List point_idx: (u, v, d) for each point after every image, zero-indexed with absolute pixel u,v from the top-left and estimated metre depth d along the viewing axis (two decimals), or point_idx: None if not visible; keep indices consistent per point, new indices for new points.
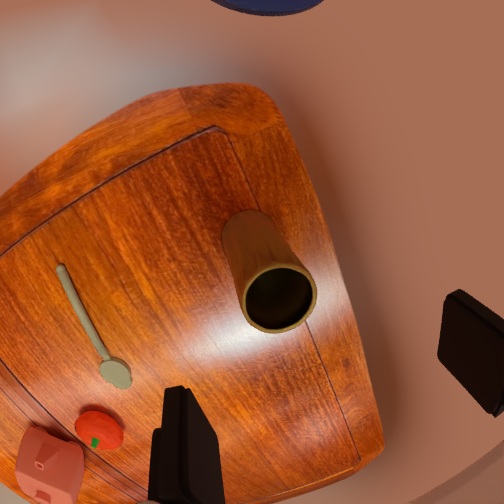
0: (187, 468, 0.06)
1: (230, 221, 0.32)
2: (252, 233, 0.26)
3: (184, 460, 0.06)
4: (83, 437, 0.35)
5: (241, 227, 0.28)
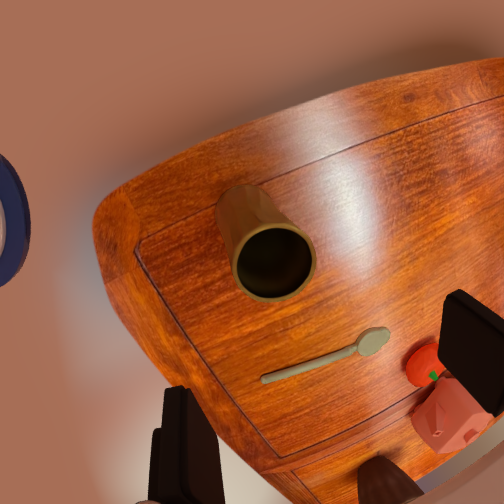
0: (187, 468, 0.06)
1: None
2: None
3: (184, 460, 0.06)
4: (426, 383, 0.40)
5: None
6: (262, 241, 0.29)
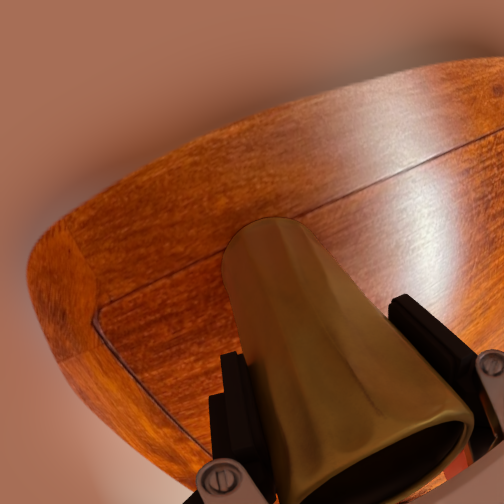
0: (256, 422, 0.07)
1: None
2: None
3: (251, 415, 0.07)
4: None
5: None
6: None
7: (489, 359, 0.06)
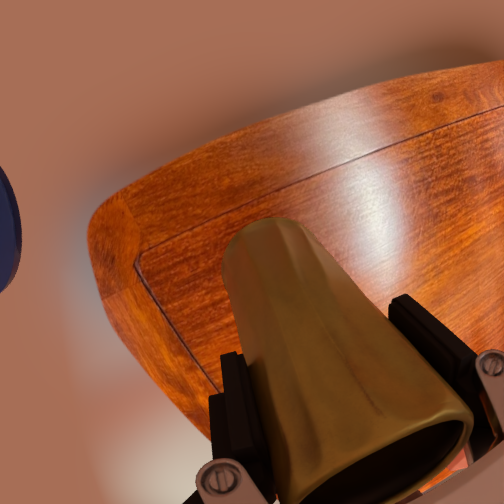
0: (256, 422, 0.07)
1: None
2: None
3: (251, 415, 0.07)
4: None
5: None
6: None
7: (489, 359, 0.06)
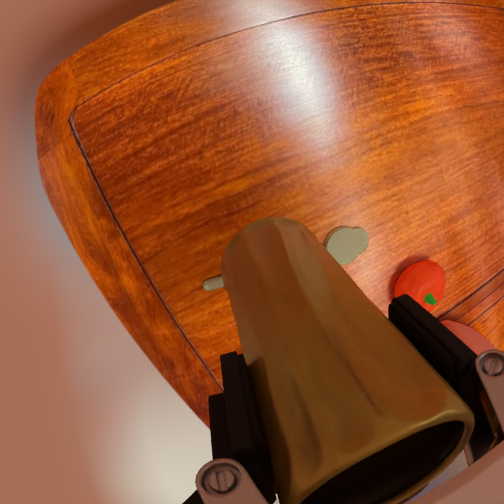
0: (256, 422, 0.07)
1: None
2: None
3: (251, 415, 0.07)
4: None
5: None
6: None
7: (489, 359, 0.06)
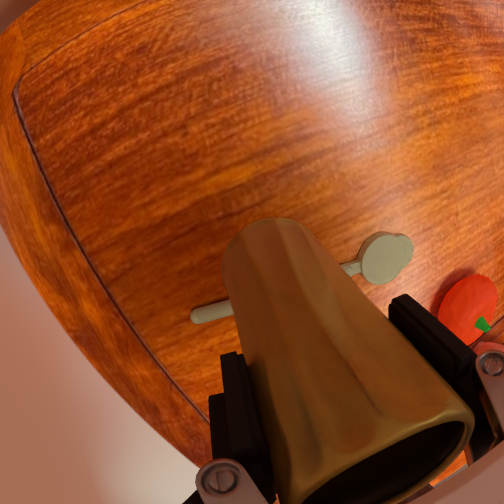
0: (256, 422, 0.07)
1: None
2: None
3: (251, 415, 0.07)
4: (471, 339, 0.24)
5: None
6: None
7: (489, 359, 0.06)
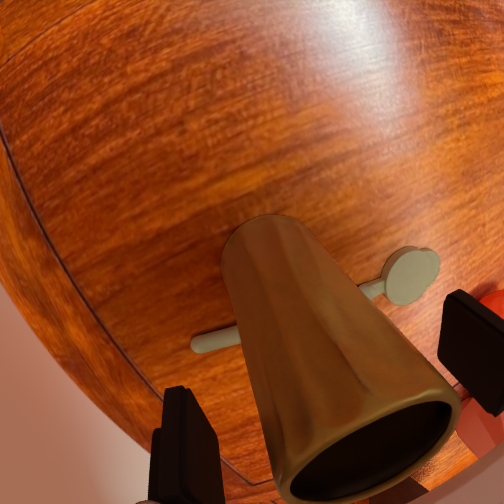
0: (187, 468, 0.06)
1: None
2: None
3: (184, 460, 0.06)
4: None
5: None
6: None
7: None
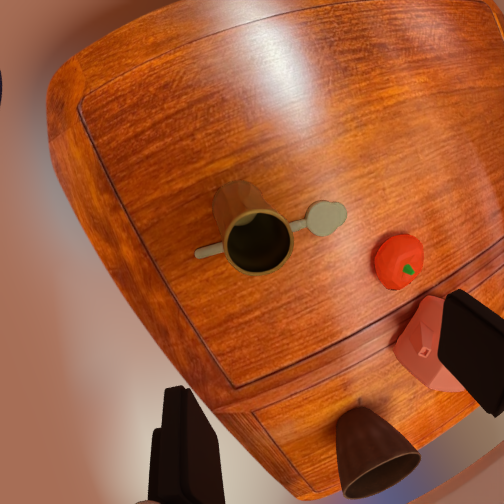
0: (187, 468, 0.06)
1: None
2: None
3: (184, 460, 0.06)
4: (402, 282, 0.37)
5: None
6: (253, 230, 0.33)
7: None
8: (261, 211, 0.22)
